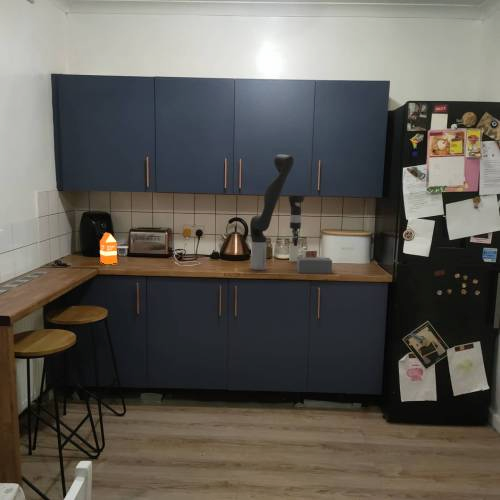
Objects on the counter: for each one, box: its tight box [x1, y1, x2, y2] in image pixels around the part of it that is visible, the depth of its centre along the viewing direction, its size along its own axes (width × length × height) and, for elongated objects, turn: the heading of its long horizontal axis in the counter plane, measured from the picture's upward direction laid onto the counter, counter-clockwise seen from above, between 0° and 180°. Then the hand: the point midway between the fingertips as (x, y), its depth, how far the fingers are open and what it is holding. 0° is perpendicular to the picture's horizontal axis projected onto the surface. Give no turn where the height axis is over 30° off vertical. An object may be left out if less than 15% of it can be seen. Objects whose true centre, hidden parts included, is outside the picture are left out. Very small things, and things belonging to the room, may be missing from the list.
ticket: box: [289, 240, 300, 263], centre depth 317 cm, size 6×1×14 cm, turn 94°
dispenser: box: [296, 256, 333, 274], centre depth 283 cm, size 20×10×9 cm, turn 91°
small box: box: [302, 249, 318, 258], centre depth 302 cm, size 8×6×10 cm
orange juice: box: [99, 232, 118, 265], centre depth 297 cm, size 8×9×20 cm
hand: (294, 244), depth 317 cm, fingers open, 8 cm apart
